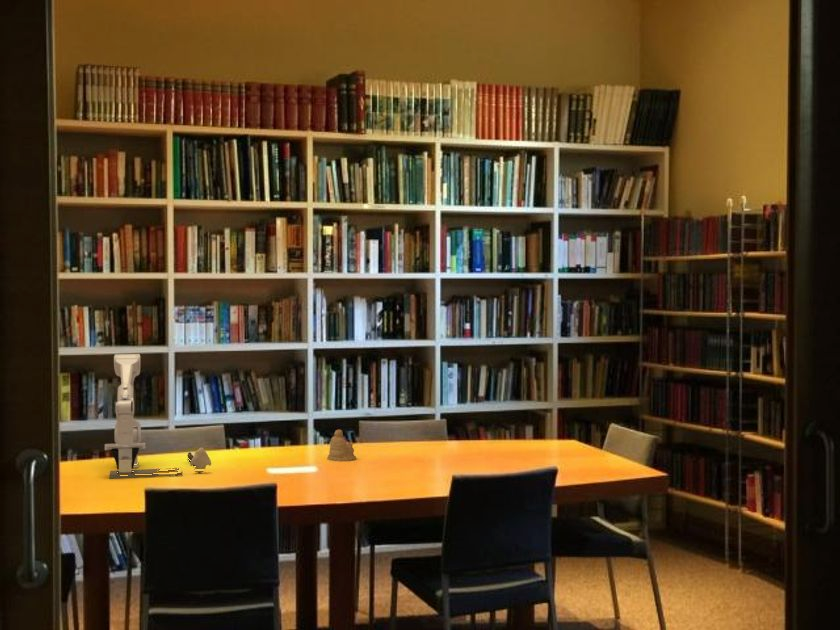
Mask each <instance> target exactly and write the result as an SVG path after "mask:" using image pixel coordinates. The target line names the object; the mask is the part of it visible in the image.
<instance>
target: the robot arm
mask: <svg viewBox="0 0 840 630" xmlns="http://www.w3.org/2000/svg"><path fill="white" fill-rule="evenodd" d="M113 367H114V368H113V369H114V373H115V375H116V376H117V377H120V382H121V383H120V385H118V387H117V395H116V396H117V399H116V400H117V401H115V415H116V416H115V417H116V422H115V424H114V443H105V444H104V451H110V450H111V451H110V452H111V455H112V457H113V458H114V461H115V465H116V469H117V470H119V458H122V456H129V457H132V470H134V469H135V468H137V469H138V468H139V467H140V465H139V463H140V462H138V460H139V459H138V453H139V451H140V450H142V449H143V450H145V449H146V442H142V435H141V434H142V427H141V423H140V422H139V421H138V420H137V419H135V418H134V414H135V401H134V391H135V390H134V389H135V388H134V382H135V378H136V377H137V376H139V375H140V373H141V355H140V354H139V353H135V354H133V353H130V354H127V353H125V354H121V353H118V354H117V353H115V354H114V356H113ZM137 463H138V464H137ZM134 464H137V465H134Z"/></svg>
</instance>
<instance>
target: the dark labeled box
mask: <svg viewBox="0 0 840 630" xmlns="http://www.w3.org/2000/svg"><path fill="white" fill-rule="evenodd" d="M196 452H197V451H190V452H187V461H188V460H189V459H190V460H192V458H193V456H194V454H195V453H196ZM188 458H189V459H188ZM190 460H189V462H191V461H190ZM189 462H188V463H189ZM193 466H195V465H193Z"/></svg>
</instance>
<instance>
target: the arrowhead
mask: <svg viewBox="0 0 840 630" xmlns="http://www.w3.org/2000/svg"><path fill="white" fill-rule="evenodd" d="M195 452H196V453H195V454H194V456H193V458H192V460H191V462H190V463H189V466H191V467H192V465H195V466H196V467H194V470H195V469H205V470H206V467H207V466H212V460H211V458H210V456H209V454H208V453H207V451H206V450H205V449H204V447H200V448H198V449H197V451H195ZM194 472H195V473H197V472H202V473H203V472H205V471H194Z"/></svg>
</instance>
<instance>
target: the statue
mask: <svg viewBox="0 0 840 630" xmlns="http://www.w3.org/2000/svg"><path fill="white" fill-rule="evenodd" d="M334 431H335V432H334V436H332V437H331V439H330V443H329V446H330V447H329V454H328V455H327V460H328V461H332V462H342V463H343V462H353V461H356V460H357V456H356V455H355V449H354V447H353V445H354V444H353V443H352V442H348V443H347V441H346V440H345V439H344V438H343V437H344V434H343V430H341V429H336V430H334Z"/></svg>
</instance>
